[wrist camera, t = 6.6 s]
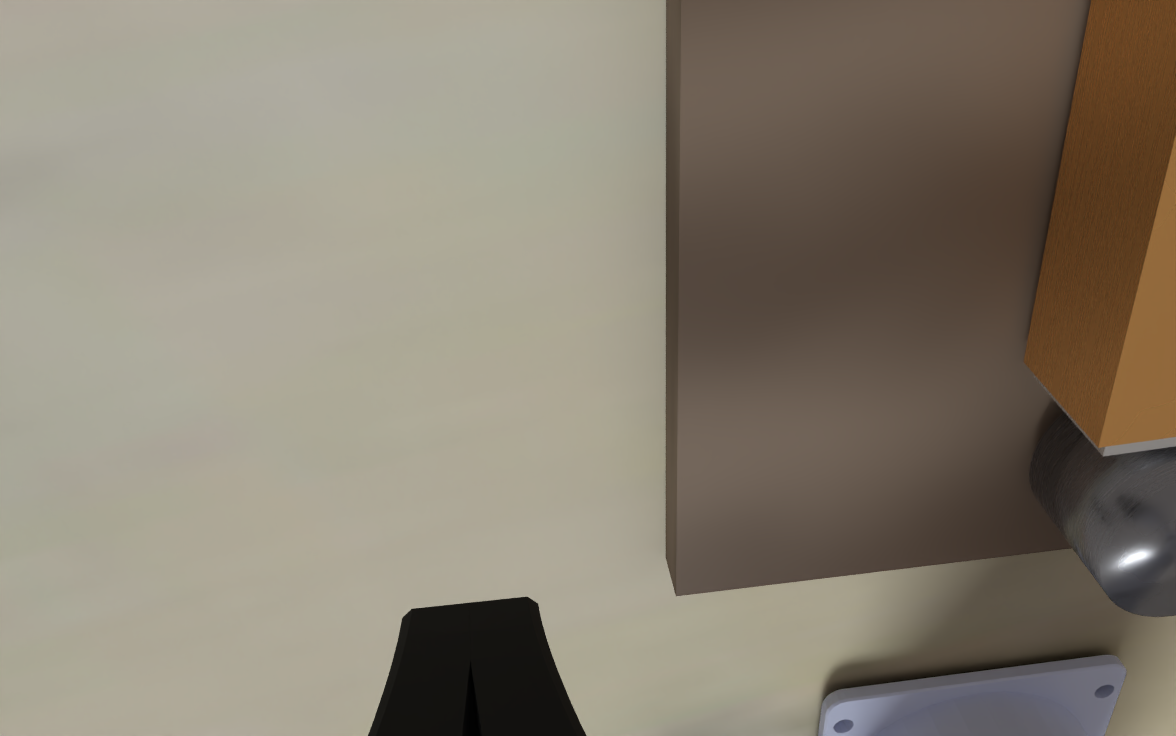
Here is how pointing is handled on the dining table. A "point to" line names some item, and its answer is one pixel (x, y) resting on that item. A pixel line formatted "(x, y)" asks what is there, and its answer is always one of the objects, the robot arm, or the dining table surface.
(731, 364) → the walnut board
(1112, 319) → the tong arm
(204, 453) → the dining table surface
